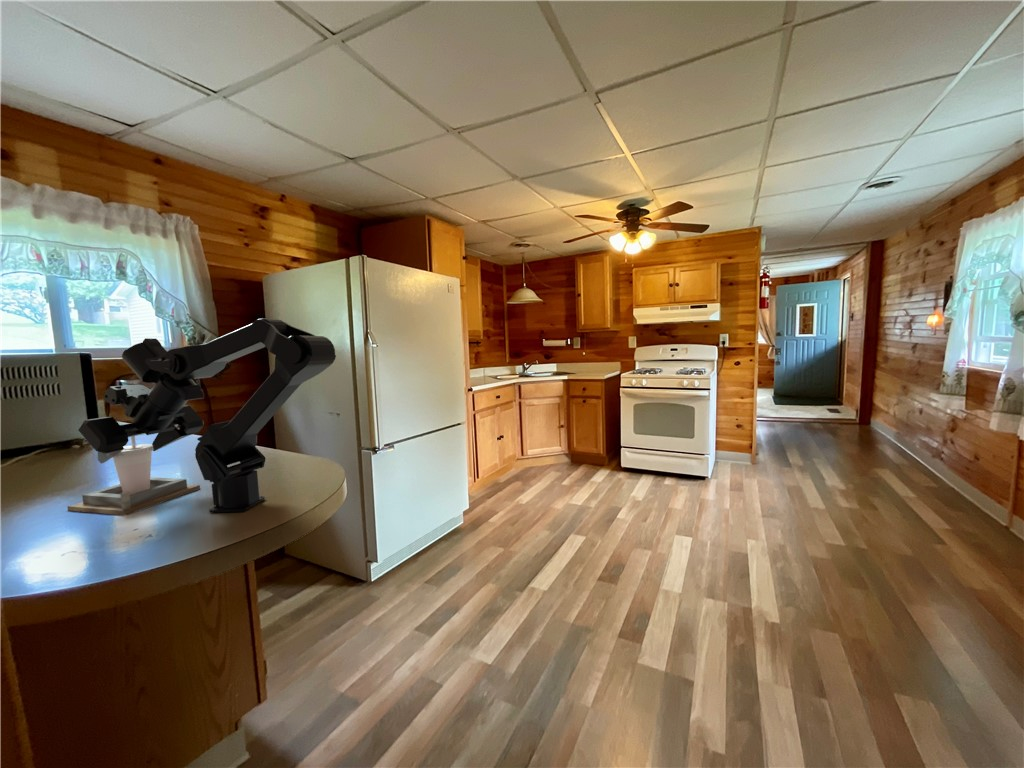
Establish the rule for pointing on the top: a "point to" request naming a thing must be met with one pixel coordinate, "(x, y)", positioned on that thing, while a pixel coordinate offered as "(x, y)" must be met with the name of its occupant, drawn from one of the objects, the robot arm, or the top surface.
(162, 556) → the top surface
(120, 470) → the smoothie
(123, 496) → the socket
